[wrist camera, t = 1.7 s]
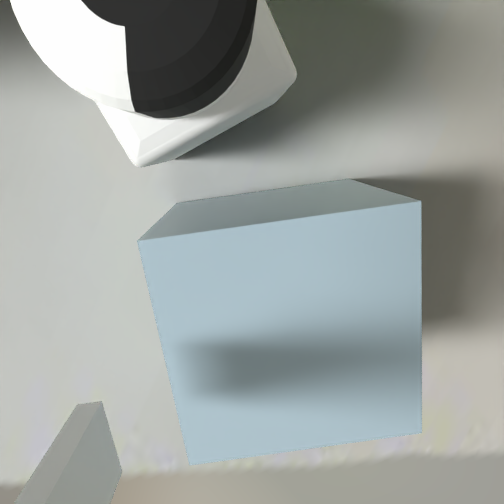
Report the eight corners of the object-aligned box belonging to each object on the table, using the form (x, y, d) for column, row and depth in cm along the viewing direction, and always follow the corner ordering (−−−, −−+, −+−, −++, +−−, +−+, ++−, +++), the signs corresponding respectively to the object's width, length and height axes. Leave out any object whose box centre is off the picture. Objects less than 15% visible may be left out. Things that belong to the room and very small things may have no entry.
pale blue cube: (176, 203, 21) (137, 241, 13) (349, 178, 21) (421, 201, 13) (206, 354, 24) (189, 465, 16) (357, 332, 24) (421, 433, 16)
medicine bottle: (216, -37, 18) (179, -348, 7) (280, 100, 20) (337, 41, 9) (96, 37, 19) (-125, -130, 7) (168, 162, 21) (82, 184, 9)
